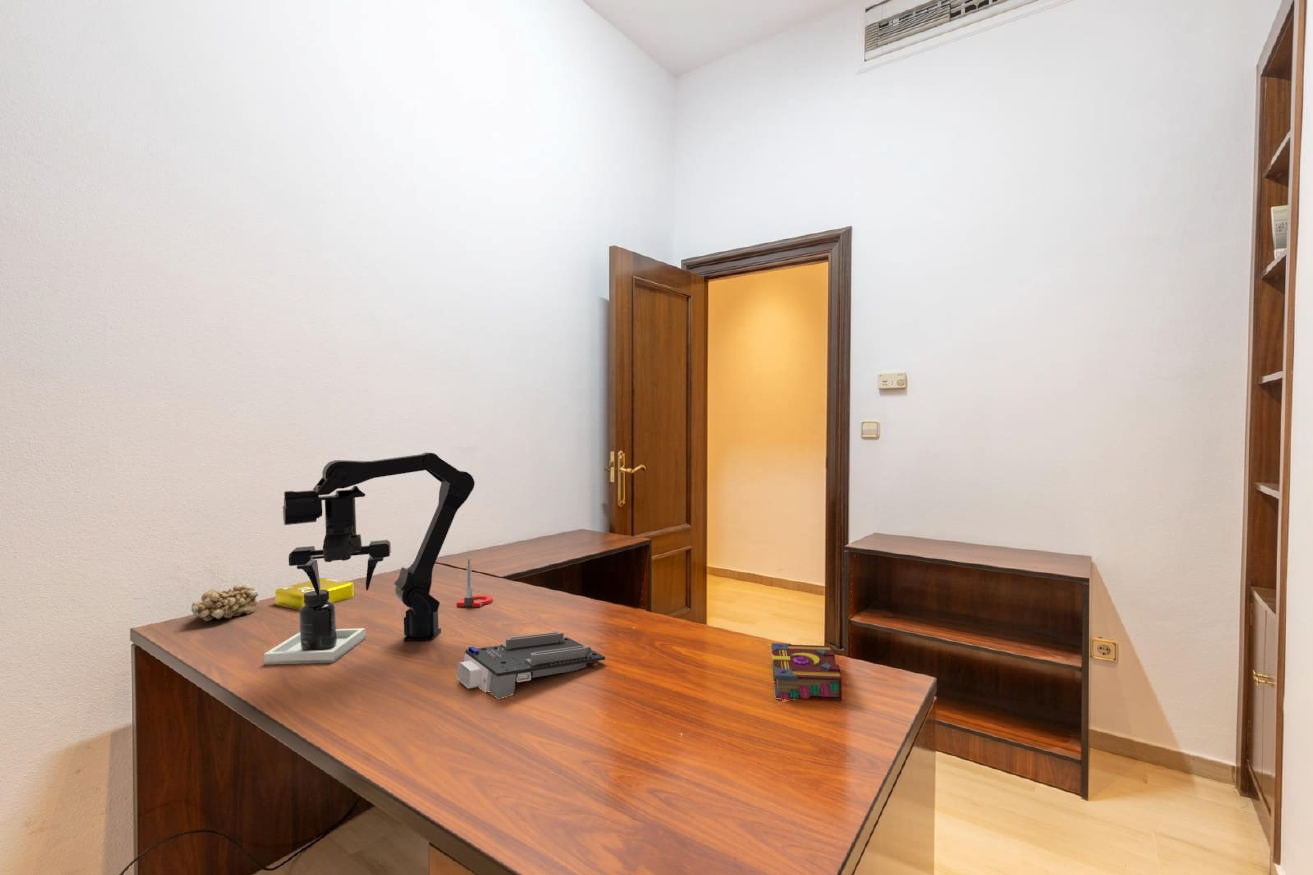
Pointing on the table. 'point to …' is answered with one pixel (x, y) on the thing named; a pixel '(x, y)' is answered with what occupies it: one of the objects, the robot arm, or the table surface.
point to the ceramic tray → (295, 655)
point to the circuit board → (522, 661)
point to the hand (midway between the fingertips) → (343, 592)
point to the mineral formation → (226, 603)
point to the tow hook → (469, 599)
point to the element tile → (295, 593)
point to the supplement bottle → (317, 622)
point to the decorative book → (805, 672)
